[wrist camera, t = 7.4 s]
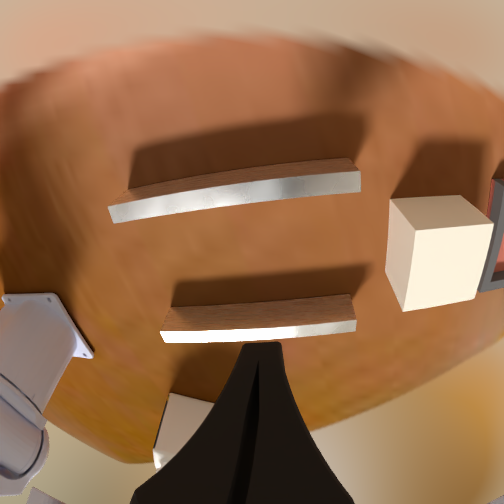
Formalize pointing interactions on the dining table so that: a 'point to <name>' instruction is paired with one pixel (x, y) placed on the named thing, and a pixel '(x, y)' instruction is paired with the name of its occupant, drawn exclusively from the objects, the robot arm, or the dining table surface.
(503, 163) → the dining table surface
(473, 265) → the block
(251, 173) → the channel
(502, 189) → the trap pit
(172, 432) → the medicine bottle
